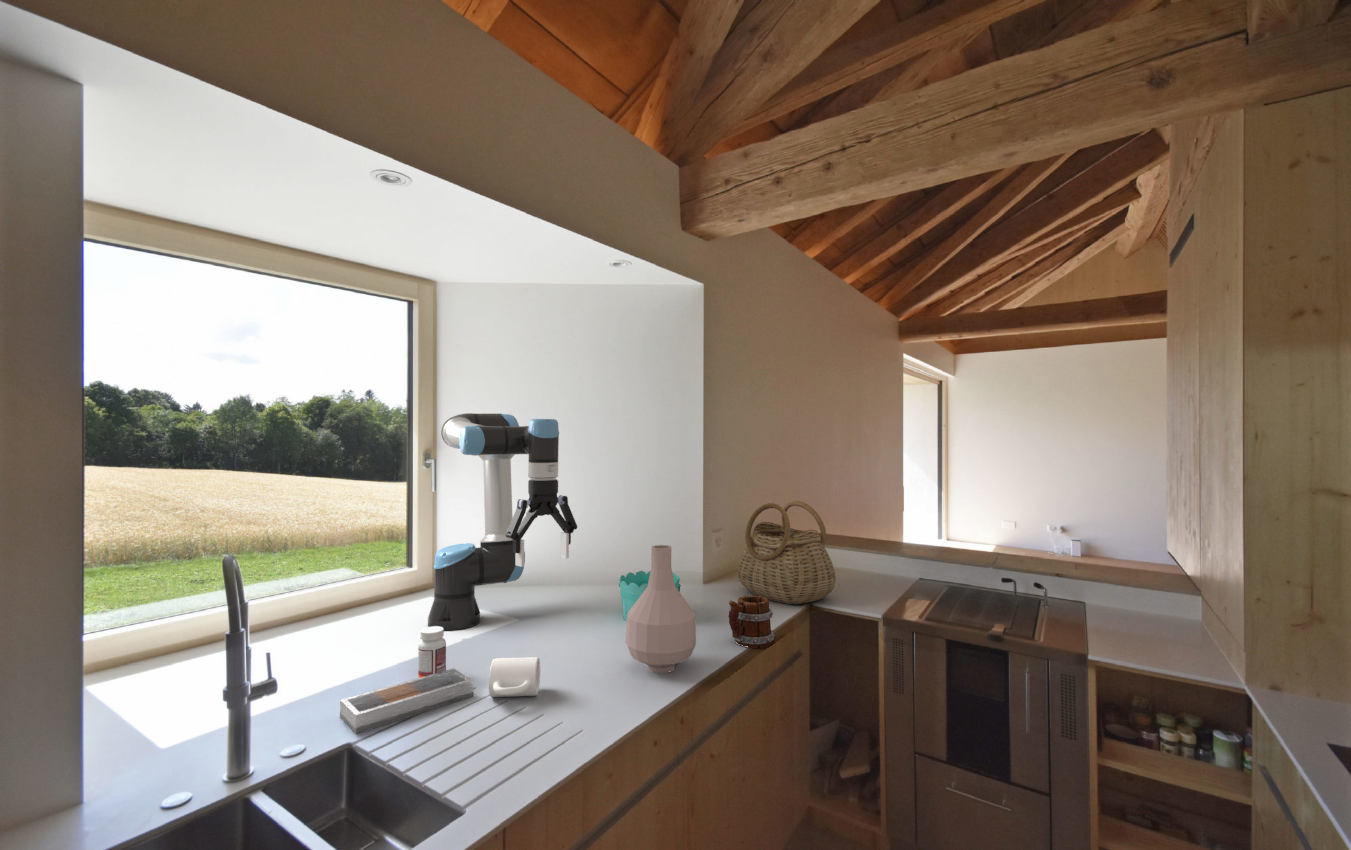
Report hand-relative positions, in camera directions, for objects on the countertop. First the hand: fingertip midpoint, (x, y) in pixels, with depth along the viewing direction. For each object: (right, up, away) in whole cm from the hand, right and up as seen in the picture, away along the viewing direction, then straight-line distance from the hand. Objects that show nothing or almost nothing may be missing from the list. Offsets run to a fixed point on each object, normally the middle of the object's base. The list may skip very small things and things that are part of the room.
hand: (542, 561), depth 157 cm
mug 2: (+55, -26, +13) cm, 62 cm away
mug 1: (-1, -25, -23) cm, 34 cm away
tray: (-23, -25, -27) cm, 43 cm away
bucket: (+26, -26, +37) cm, 52 cm away
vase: (+31, -25, -5) cm, 40 cm away
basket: (+74, -26, +62) cm, 100 cm away
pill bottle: (-24, -25, -11) cm, 37 cm away
